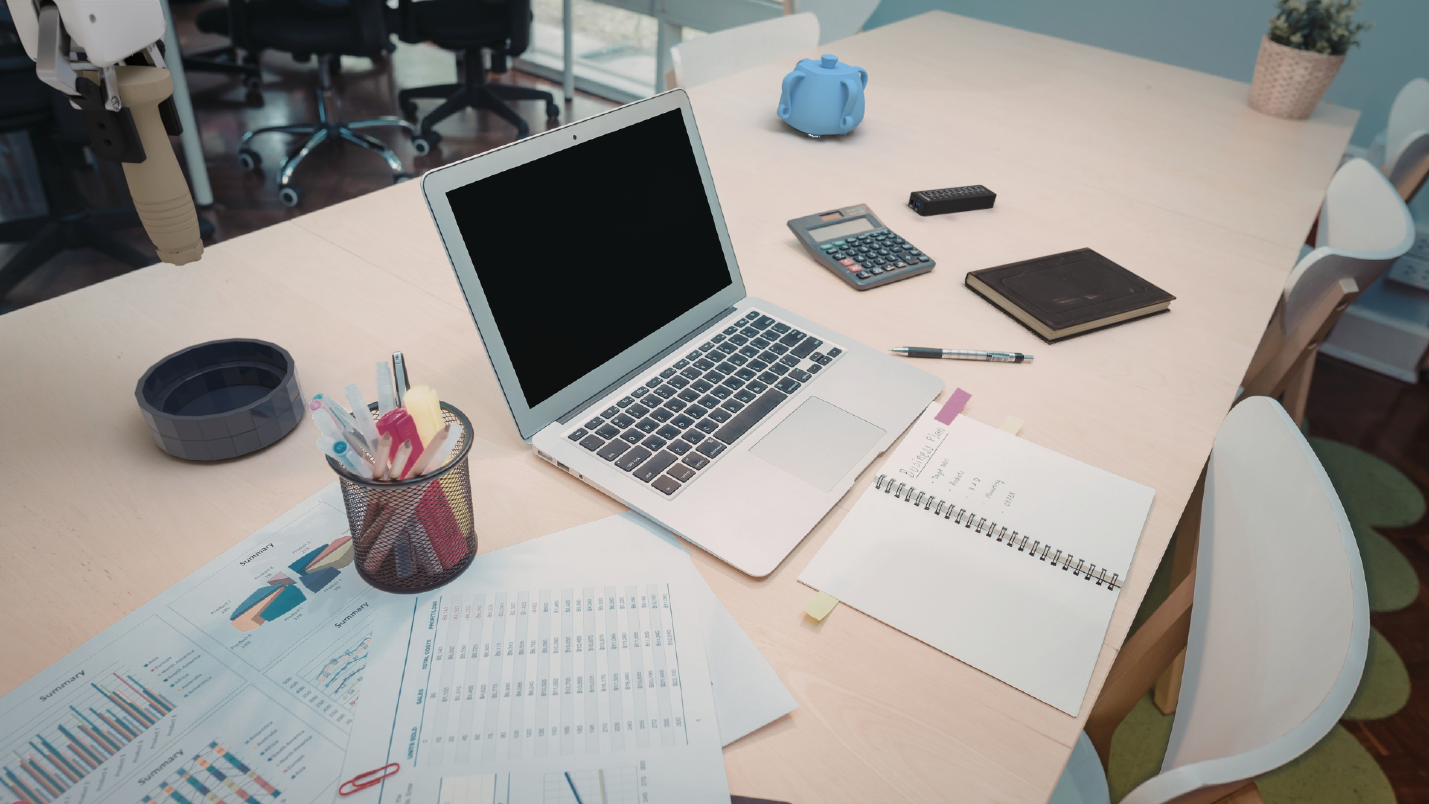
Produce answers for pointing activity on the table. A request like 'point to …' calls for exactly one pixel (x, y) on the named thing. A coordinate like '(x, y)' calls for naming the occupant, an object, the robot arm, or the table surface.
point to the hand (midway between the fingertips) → (142, 144)
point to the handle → (157, 167)
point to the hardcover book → (1068, 294)
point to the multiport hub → (951, 200)
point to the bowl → (221, 398)
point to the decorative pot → (823, 96)
